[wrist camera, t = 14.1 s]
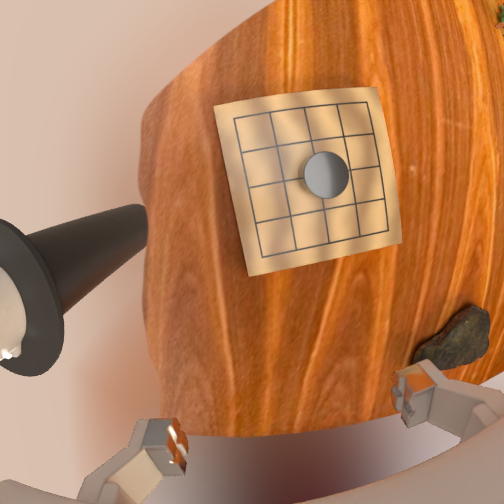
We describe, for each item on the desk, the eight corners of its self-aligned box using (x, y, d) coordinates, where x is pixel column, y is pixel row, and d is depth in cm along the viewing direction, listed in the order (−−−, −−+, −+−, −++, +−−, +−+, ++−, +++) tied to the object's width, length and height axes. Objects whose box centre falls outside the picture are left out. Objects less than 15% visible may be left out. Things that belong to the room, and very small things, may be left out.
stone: (406, 373, 42) (414, 383, 39) (419, 311, 39) (429, 319, 36) (477, 350, 43) (486, 357, 40) (491, 295, 40) (501, 301, 38)
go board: (248, 273, 37) (248, 277, 35) (213, 109, 32) (212, 105, 30) (397, 240, 37) (402, 243, 35) (371, 89, 32) (377, 86, 30)
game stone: (302, 200, 33) (308, 202, 31) (294, 156, 32) (299, 154, 29) (343, 193, 33) (352, 194, 31) (335, 150, 32) (344, 148, 29)
